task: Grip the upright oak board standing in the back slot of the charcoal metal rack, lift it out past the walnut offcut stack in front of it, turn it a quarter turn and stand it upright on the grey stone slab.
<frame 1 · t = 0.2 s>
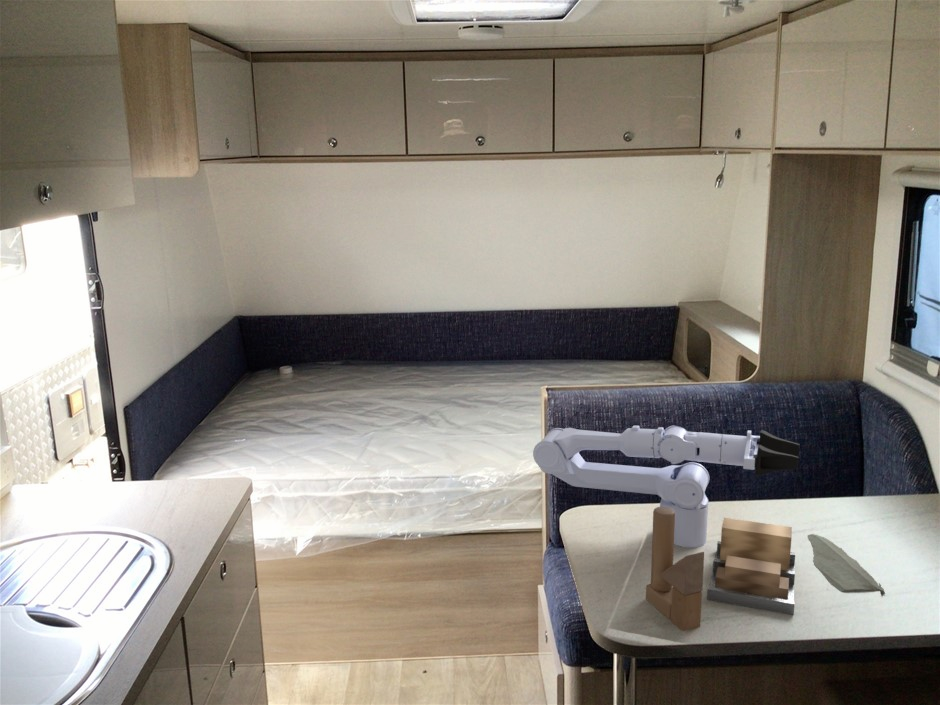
hand: (798, 456, 147), 21 cm above the table, tool horizontal, fingers open, 7 cm apart
walnut offcut upper: (752, 577, 139), point 3 cm above the table, touching walnut offcut lower
rack: (752, 584, 144), on the table
wooden block: (672, 617, 134), on the table
oak board: (754, 566, 148), point 1 cm above the table, touching rack
stone slab: (829, 568, 150), on the table
walnut offcut lower: (751, 590, 140), point 1 cm above the table, touching rack, walnut offcut upper
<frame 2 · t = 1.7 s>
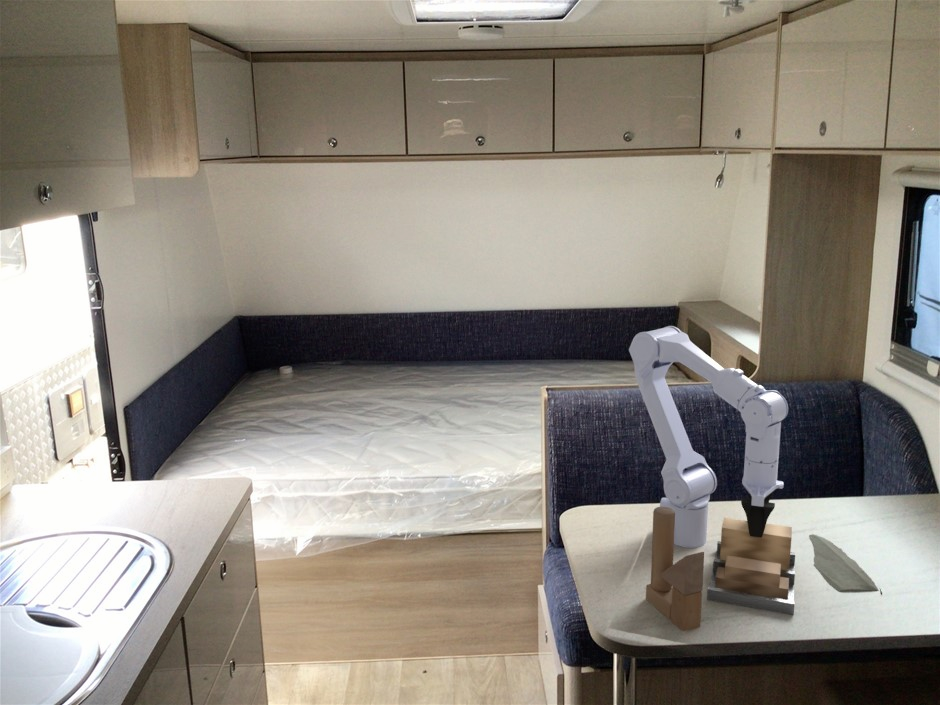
hand: (756, 527, 146), 9 cm above the table, tool pointing down, fingers open, 7 cm apart
nothing on the table moved.
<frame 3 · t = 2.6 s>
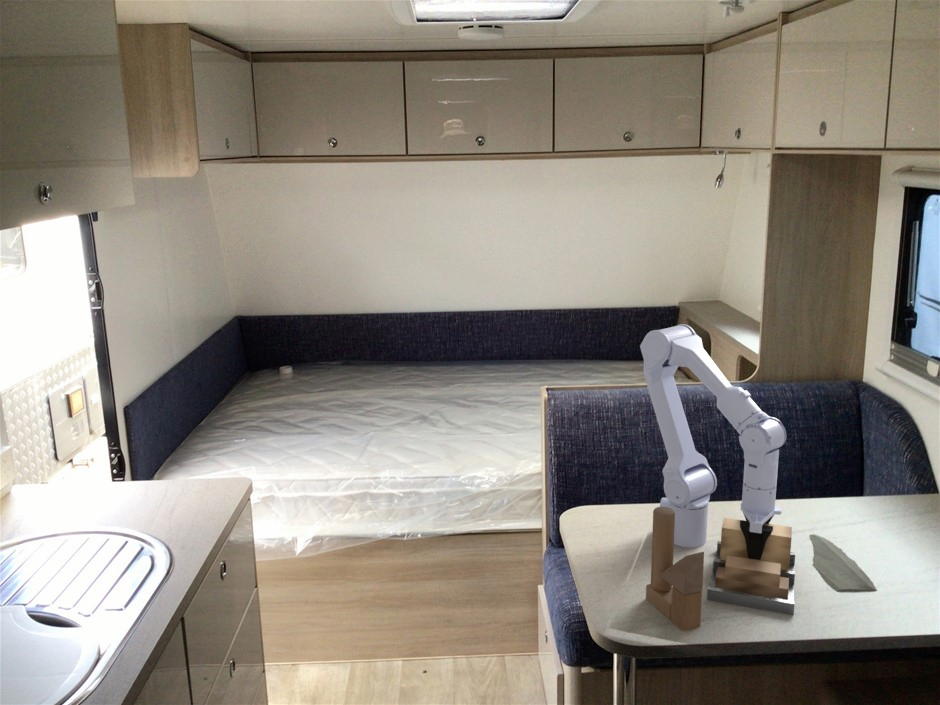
hand: (755, 552, 147), 4 cm above the table, tool pointing down, fingers closed on oak board, 4 cm apart
oak board: (754, 566, 148), point 1 cm above the table, touching gripper, rack
everything else where it was.
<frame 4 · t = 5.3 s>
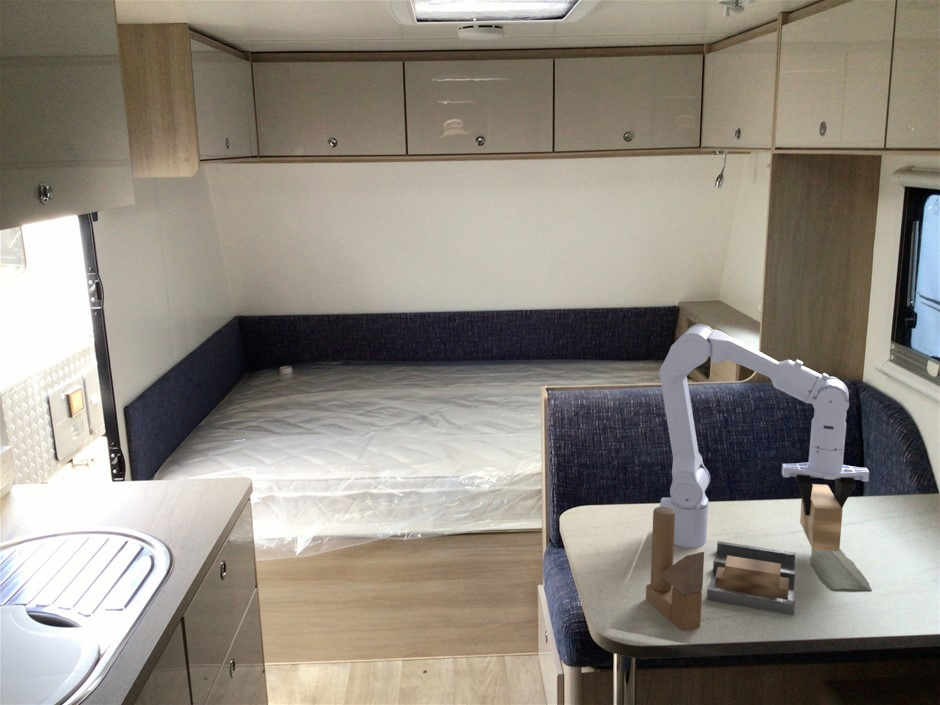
hand: (821, 514, 147), 11 cm above the table, tool pointing down, fingers closed on oak board, 4 cm apart
oak board: (818, 536, 149), point 6 cm above the table, touching gripper
everything else where it was.
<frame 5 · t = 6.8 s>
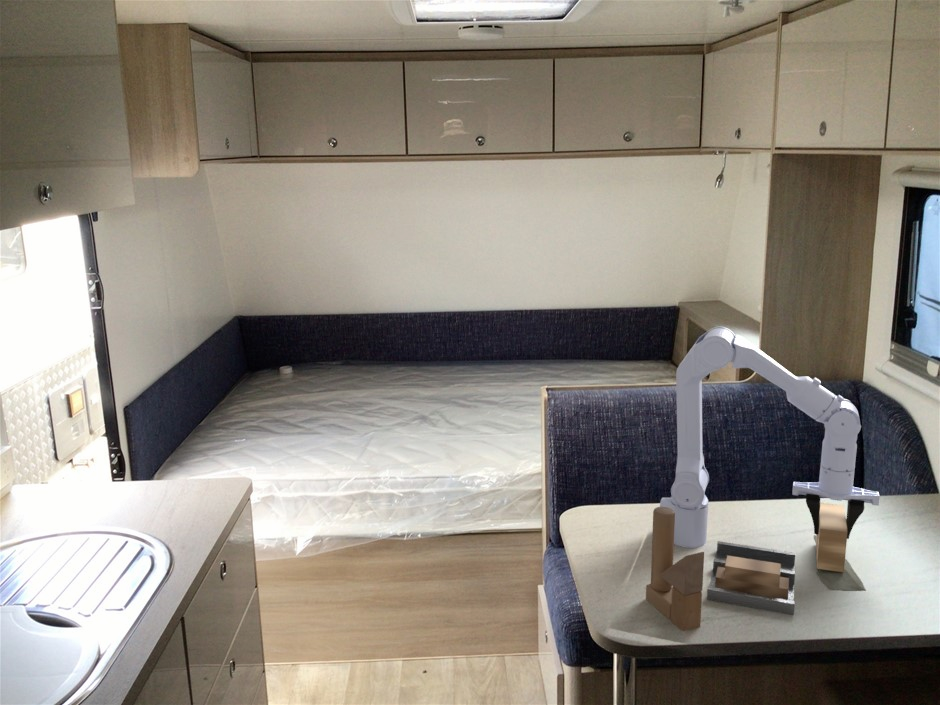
hand: (831, 534, 149), 6 cm above the table, tool pointing down, fingers closed on oak board, 4 cm apart
oak board: (829, 555, 150), point 2 cm above the table, touching gripper, stone slab
stone slab: (824, 568, 150), on the table, touching oak board
everything else where it was.
when the fingers open (6 cm above the table, at t = 7.7 s): oak board stays where it is, resting on stone slab.
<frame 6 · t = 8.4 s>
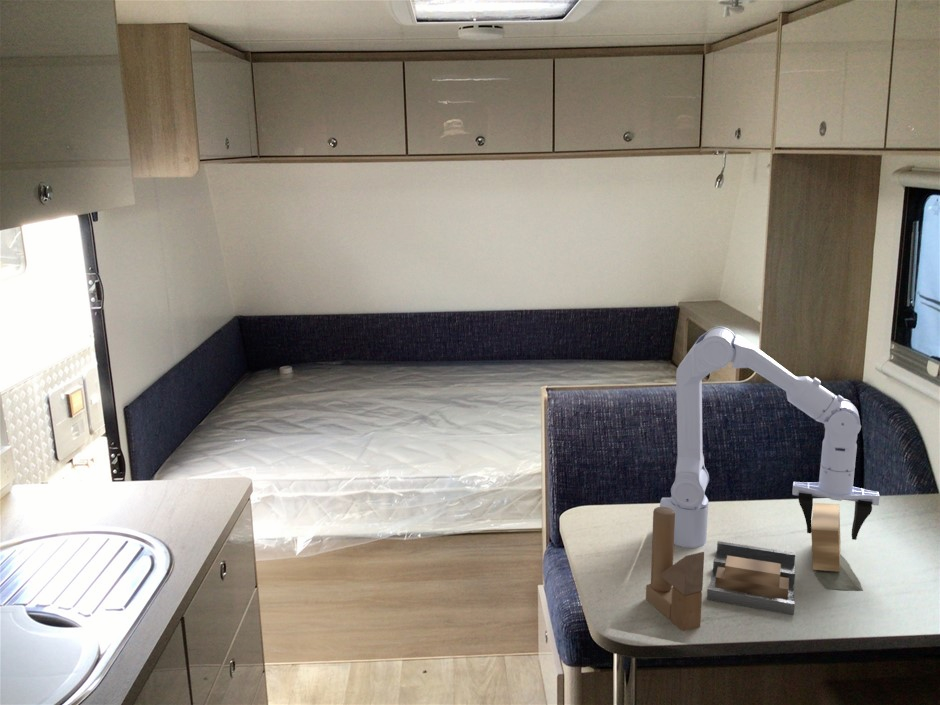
hand: (831, 534, 148), 6 cm above the table, tool pointing down, fingers open, 7 cm apart
oak board: (827, 555, 150), point 2 cm above the table, tilted 6°, touching stone slab
everything else where it was.
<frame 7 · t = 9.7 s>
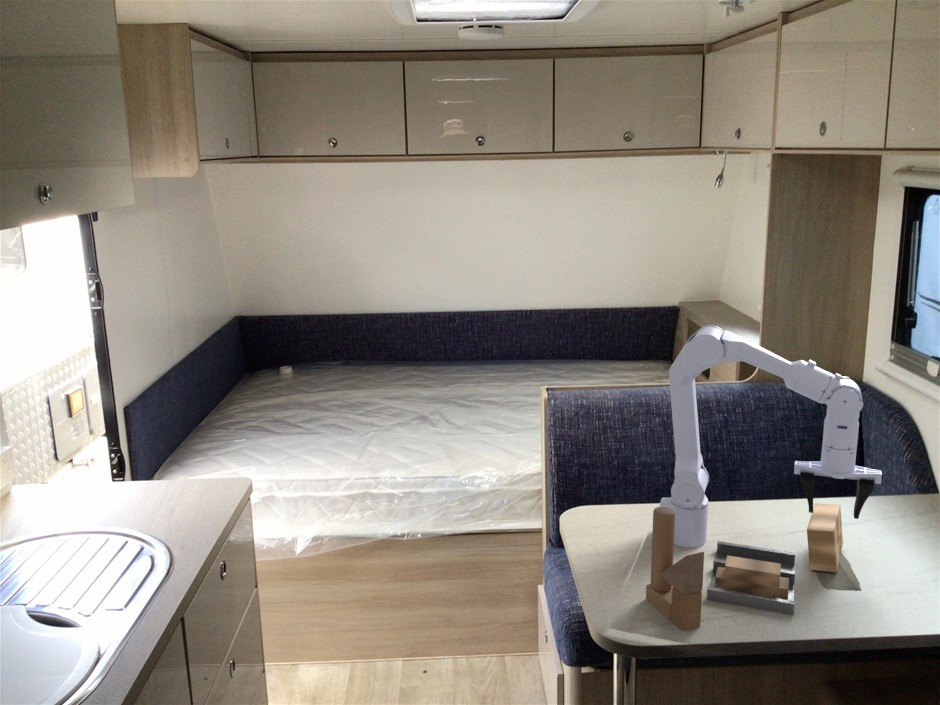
hand: (833, 513, 148), 10 cm above the table, tool pointing down, fingers open, 7 cm apart
nothing on the table moved.
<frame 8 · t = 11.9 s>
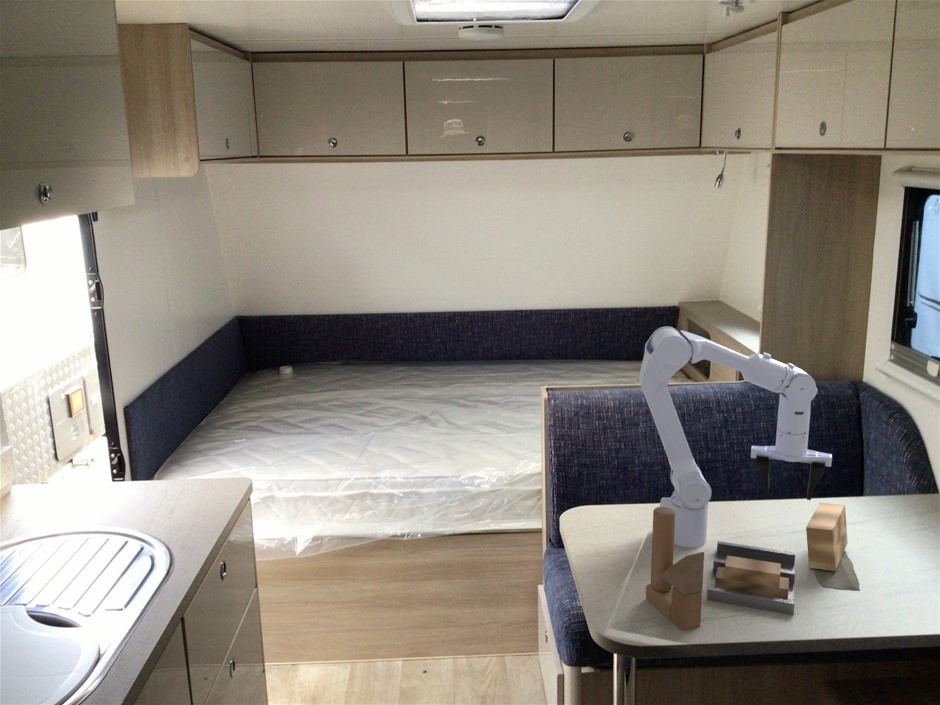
hand: (787, 495, 156), 10 cm above the table, tool pointing down, fingers open, 7 cm apart
at the end: oak board inside the target area on the stone slab (0.3 cm from its centre), point 2.6 cm above the stone slab's base; oak board tilted 8°; the gripper is holding nothing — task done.
